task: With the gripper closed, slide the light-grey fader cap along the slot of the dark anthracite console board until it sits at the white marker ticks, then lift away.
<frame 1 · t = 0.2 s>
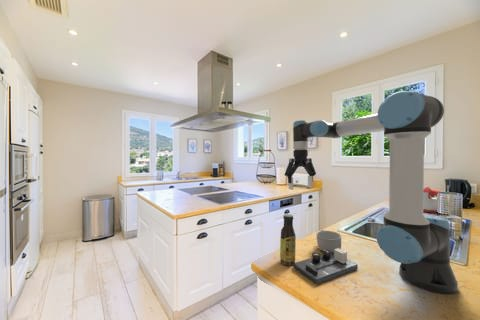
hand: (300, 188, 109), 28 cm above the worktop, fingers open, 13 cm apart
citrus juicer: (428, 211, 164), on the worktop
console board: (325, 268, 80), on the worktop
fader: (340, 255, 81), point 4 cm above the worktop, slide at 0.0 cm
sauce bottle: (287, 263, 85), on the worktop
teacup: (327, 250, 96), on the worktop
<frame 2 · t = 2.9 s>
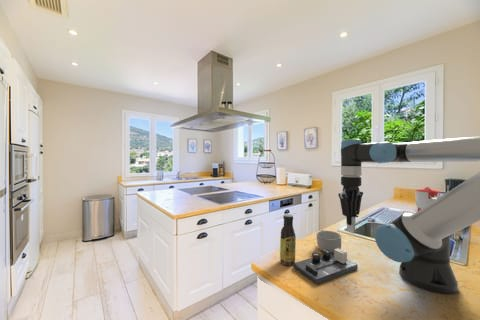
hand: (350, 231, 85), 13 cm above the worktop, fingers closed
nothing on the worktop moved.
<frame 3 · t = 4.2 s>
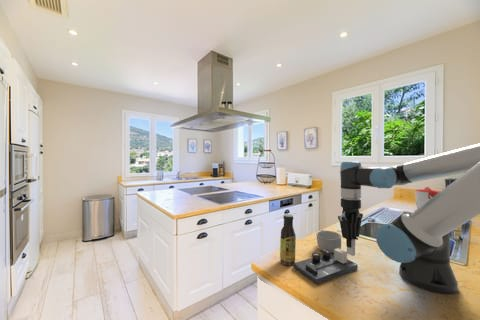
hand: (350, 254, 84), 3 cm above the worktop, fingers closed
nothing on the worktop moved.
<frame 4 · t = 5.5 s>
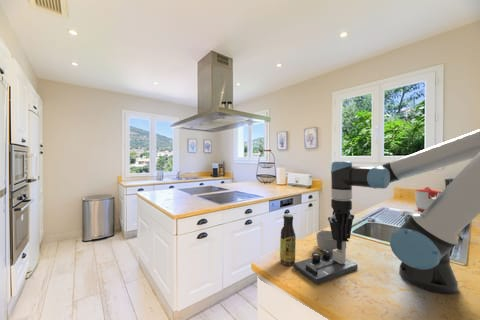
hand: (341, 256, 82), 4 cm above the worktop, fingers closed
fader: (338, 256, 81), point 4 cm above the worktop, slide at 1.0 cm, touching gripper
everything else where it was.
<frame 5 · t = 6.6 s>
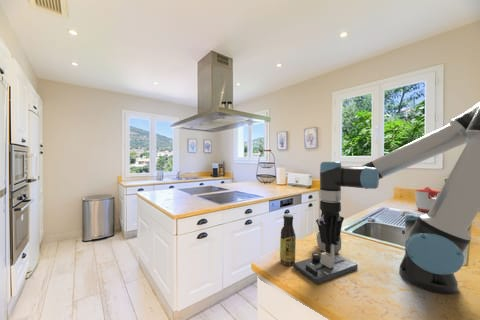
hand: (330, 260, 79), 4 cm above the worktop, fingers closed
fader: (327, 259, 78), point 4 cm above the worktop, slide at 7.4 cm, touching gripper
everything else where it was.
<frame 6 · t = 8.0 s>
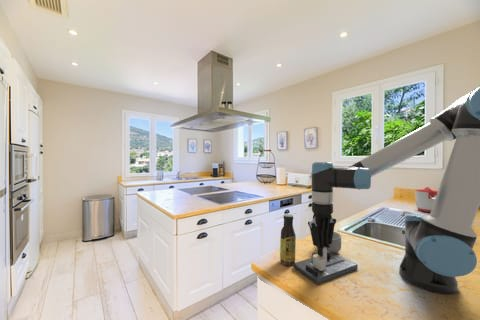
hand: (322, 263, 77), 3 cm above the worktop, fingers closed
fader: (319, 262, 76), point 4 cm above the worktop, slide at 11.9 cm, touching gripper
everything else where it was.
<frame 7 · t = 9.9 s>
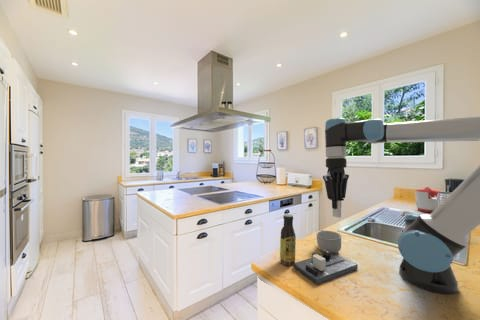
hand: (336, 216, 80), 20 cm above the worktop, fingers closed
fader: (319, 262, 76), point 4 cm above the worktop, slide at 11.9 cm
everything else where it was.
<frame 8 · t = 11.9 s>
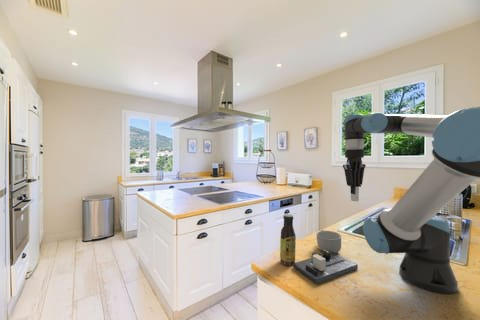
hand: (354, 200, 91), 24 cm above the worktop, fingers closed
nothing on the worktop moved.
at the end: fader slide at 11.9 cm; fader touching nothing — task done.
